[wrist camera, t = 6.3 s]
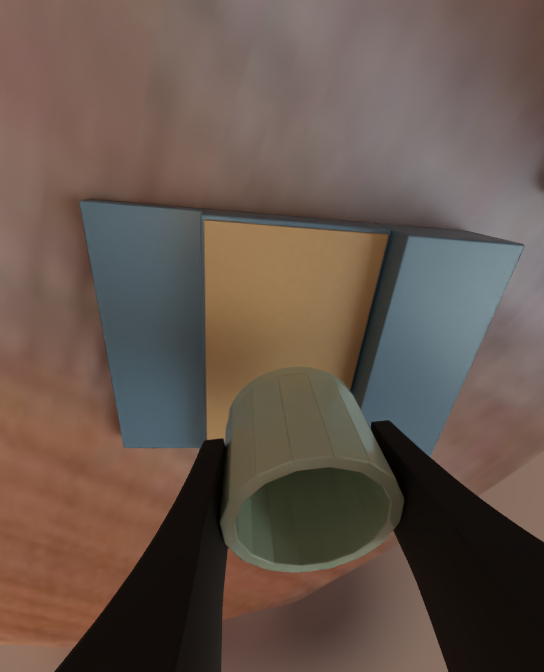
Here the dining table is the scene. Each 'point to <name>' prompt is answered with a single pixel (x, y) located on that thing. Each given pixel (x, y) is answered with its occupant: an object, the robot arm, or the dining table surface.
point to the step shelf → (285, 313)
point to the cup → (303, 475)
